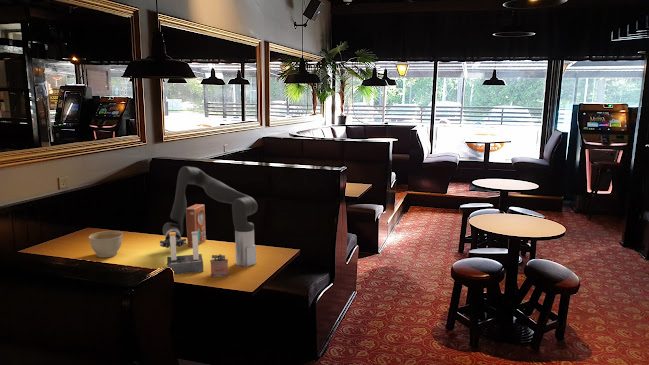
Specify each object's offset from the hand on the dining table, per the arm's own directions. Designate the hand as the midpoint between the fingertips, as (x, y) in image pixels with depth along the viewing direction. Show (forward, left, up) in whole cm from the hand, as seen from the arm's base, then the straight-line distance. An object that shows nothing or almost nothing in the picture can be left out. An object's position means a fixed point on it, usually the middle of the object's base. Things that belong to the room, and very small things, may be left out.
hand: (173, 247), depth 228 cm
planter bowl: (+47, +7, -11) cm, 49 cm away
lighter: (-24, -8, -11) cm, 27 cm away
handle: (-9, -6, -6) cm, 12 cm away
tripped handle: (-1, +1, -6) cm, 6 cm away
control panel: (+27, -35, -11) cm, 45 cm away
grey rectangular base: (-4, -4, -11) cm, 12 cm away
